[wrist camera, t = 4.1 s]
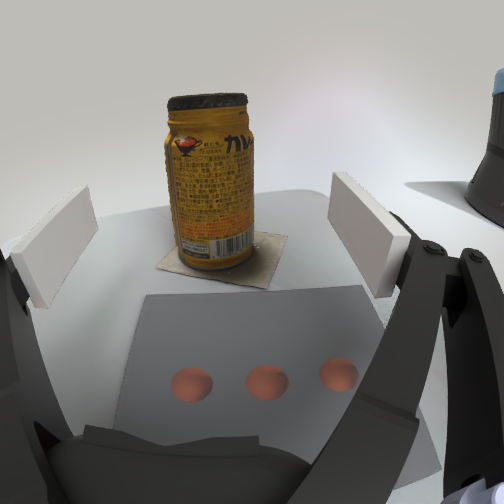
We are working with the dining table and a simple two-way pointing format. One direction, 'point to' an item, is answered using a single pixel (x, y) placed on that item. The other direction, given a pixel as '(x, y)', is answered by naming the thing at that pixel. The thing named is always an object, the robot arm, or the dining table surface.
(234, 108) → the condiment
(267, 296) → the marker mat
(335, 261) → the dining table surface
